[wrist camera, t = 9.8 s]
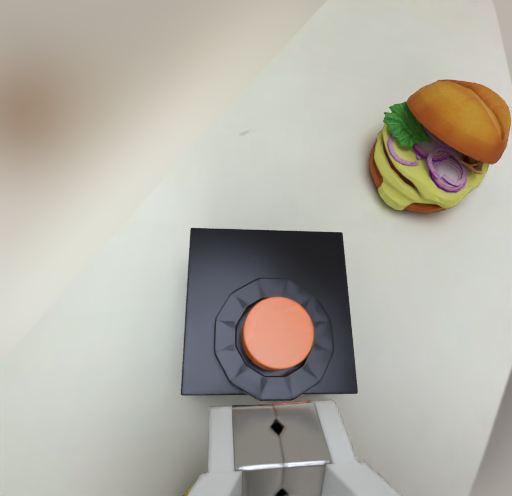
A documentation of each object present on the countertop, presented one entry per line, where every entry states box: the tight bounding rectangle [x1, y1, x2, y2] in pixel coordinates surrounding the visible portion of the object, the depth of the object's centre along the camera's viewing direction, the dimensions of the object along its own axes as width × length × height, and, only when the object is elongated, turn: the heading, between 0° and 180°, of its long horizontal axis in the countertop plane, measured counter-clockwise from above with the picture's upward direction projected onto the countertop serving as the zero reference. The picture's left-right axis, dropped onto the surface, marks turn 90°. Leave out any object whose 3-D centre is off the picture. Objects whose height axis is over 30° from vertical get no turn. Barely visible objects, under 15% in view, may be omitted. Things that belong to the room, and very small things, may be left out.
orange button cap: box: [241, 297, 314, 371], centre depth 19 cm, size 4×4×2 cm
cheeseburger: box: [370, 80, 511, 213], centre depth 32 cm, size 10×11×10 cm
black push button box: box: [181, 228, 358, 401], centre depth 25 cm, size 10×10×9 cm
